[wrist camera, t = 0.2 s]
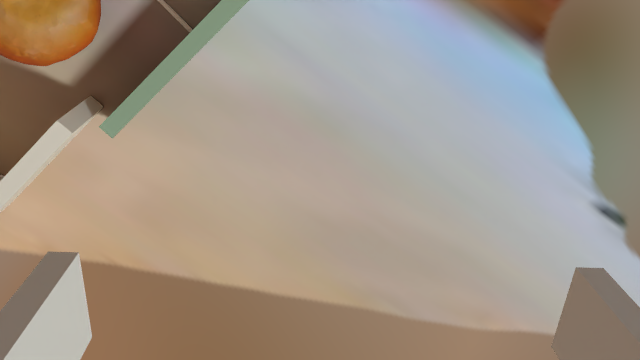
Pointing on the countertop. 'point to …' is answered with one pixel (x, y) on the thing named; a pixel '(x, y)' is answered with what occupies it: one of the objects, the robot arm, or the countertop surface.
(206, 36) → the pitch
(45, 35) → the fruit
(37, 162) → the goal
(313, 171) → the countertop surface
